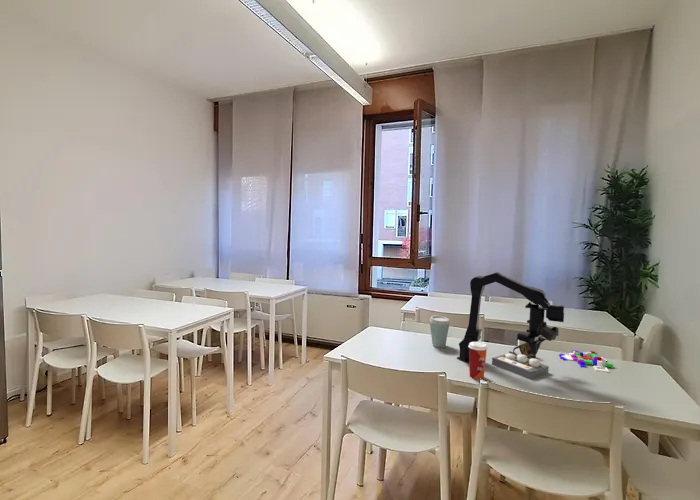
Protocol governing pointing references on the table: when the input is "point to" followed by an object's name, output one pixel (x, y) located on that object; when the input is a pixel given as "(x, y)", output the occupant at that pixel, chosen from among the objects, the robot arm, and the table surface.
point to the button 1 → (510, 356)
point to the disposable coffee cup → (439, 330)
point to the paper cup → (477, 359)
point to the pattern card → (514, 363)
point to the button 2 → (534, 363)
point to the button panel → (520, 371)
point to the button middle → (522, 358)
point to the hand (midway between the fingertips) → (534, 354)
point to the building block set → (591, 355)
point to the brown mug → (524, 350)
